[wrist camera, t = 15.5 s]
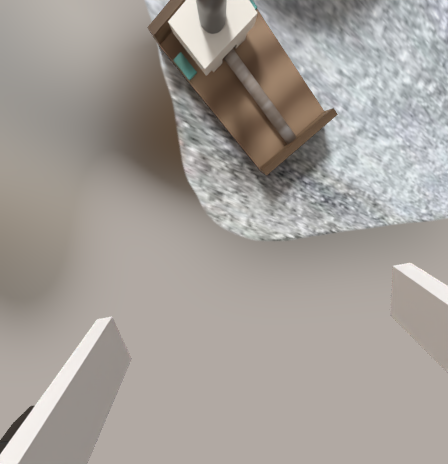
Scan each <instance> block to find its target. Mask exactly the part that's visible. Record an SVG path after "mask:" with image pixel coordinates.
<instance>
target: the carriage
mask: <svg viewBox="0 0 448 464" xmlns="http://www.w3.org/2000/svg"><path fill="white" fill-rule="evenodd" d="M256 17H257V11H256V10H255V8H254V7H253V5H252V4H251V2H250V1H249V0H186V1H185V2H184V3H183V4H182V6H181V7H180V8H179V9H178V10H177V11H176V13H175V14H174V15H173V16H172V17H171V19H170V20H169V21H168V23H169V25H170V27H171V30H172V32H173V34H174V35H175V36H176V38H177V39H178V40H179V42H180V43H181V44H182V45H183V47H184V48H185V49H186V51H187V52H188V53H189V54H190V56H191V57H192V58H193V60H194V61H195V62H196V63H197V65H198V66H199V67H200V69H201V70H202V71H203V72H204V74H205V75H206V76H207V75H208V74H209V73H210V72H211V71H213V72H215V70H216V69H217V68H218V67H219V66H220V65H221V64H222V59H223V58H224V57H225V56H226V55H227V54H228V53H229V52H230V51H231V50H232V49H233V47H235V48H237V47H238V46H239V45H240V44H241V43H242V42H243V41H244V40H245V38H246V34H247V33H248V32H249V31H250V30H251V28H252V27H253V26H254V24H255V21H256Z"/></svg>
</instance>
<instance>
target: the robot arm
mask: <svg viewBox="0 0 448 464" xmlns="http://www.w3.org/2000/svg"><path fill="white" fill-rule="evenodd" d="M391 316H392V317H393V318H394V319H395V321H396V322H397V323H398V324H399V325H400V326H401V327H402V328H404V329H405V331H407V333H408V334H409V335H410V336H411V337H412V338H413V339H414V340H415V341H416V342H417V343H418V344H419V345H420V346H421V347H422V348H424V350H425V351H426V352H427V353H428V354H429V355H430V356H431V357H432V358H433V359H434V360H435V361H436V362H437V363H438V364H439V365H440V366H441V367H442V368H443V369H444V370H445V371H446V372H447V373H448V286H447V285H445V284H444V283H442V282H441V281H439V280H437V279H436V278H434V277H433V276H431V275H429V274H428V273H426V272H425V271H423V270H421V269H420V268H418V267H417V266H415V265H413V264H412V263H406V264H401V265H395V266H393V271H392V293H391ZM130 361H131V356H130V354H129V353H128V350H127V348H126V346H125V343H124V341H123V339H122V337H121V335H120V332H119V330H118V328H117V326H116V324H115V322H114V319H113V318H112V317H108V318H102V319H97V320H96V322H95V323H94V325H93V326H92V327H91V329H90V330H89V331H88V333H87V334H86V336H85V337H84V339H83V340H82V341H81V342H80V344H79V345H78V347H77V348H76V350H75V351H74V352H73V354H72V355H71V357H70V358H69V359H68V361H67V362H66V363H65V365H64V366H63V368H62V369H61V370H60V372H59V373H58V375H57V376H56V377H55V379H54V380H53V382H52V383H51V384H50V386H49V387H48V389H47V390H46V391H45V393H44V394H43V396H42V397H41V398H40V400H39V401H38V402H37V404H36V405H35V406H31V407H29V408H28V409H27V410H26V411H25V412H24V413H23V414H22V415H21V416H20V417H19V418H18V419H17V420H16V421H15V422H14V423H13V424H12V425H11V427H10V428H9V429H8V431H7V432H6V433H5V435H4V436H3V438H2V439H1V440H0V464H87V463H88V461H89V458H90V456H91V454H92V451H93V449H94V447H95V444H96V442H97V440H98V437H99V435H100V432H101V430H102V428H103V425H104V423H105V421H106V418H107V416H108V414H109V411H110V409H111V406H112V404H113V402H114V399H115V397H116V395H117V392H118V390H119V387H120V385H121V383H122V380H123V378H124V376H125V373H126V371H127V368H128V366H129V364H130Z"/></svg>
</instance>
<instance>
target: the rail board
mask: <svg viewBox="0 0 448 464" xmlns="http://www.w3.org/2000/svg"><path fill="white" fill-rule="evenodd" d="M185 1H186V0H170V1H169V2H168V3H167V5H166V6H165V7H164V8H163V9H162V11H161V12H160V13H159V14H158V15H157V17H156V18H155V19H154V20H153V21H152V23H151V24H150V25H149V26H148V29H149V31H150V32H151V34H152V35H153V37H154V39H155V40H156V42H157V43H158V45H159V46H160V47H161V49H162V50H163V51H164V52H165V54H166V55H167V56H168V57H169V59H170V60H171V61H172V62H173V63H174V65H175V66H176V67H177V68H178V70H179V71H180V72H181V73H182V75H183V76H184V77H185V78H186V80H187V81H188V82H189V83H190V84H191V86H192V87H193V88H194V89H195V91H196V92H197V93H198V94H199V96H200V97H201V98H202V99H203V101H204V102H205V103H206V104H207V106H208V107H209V108H210V109H211V110H212V112H213V113H214V114H215V115H216V117H217V118H218V119H219V120H220V122H221V123H222V124H223V125H224V127H225V128H226V129H227V130H228V131H229V133H230V134H231V135H232V136H233V138H234V139H235V140H236V141H237V143H238V144H239V145H240V146H241V148H242V149H243V150H244V151H245V153H246V154H247V155H248V156H249V157H250V159H251V160H252V161H253V162H254V164H255V165H256V166H257V167H258V169H259V170H260V171H261V172H262V173H264V174H265V175H268V174H269V173H270V172H271V171H272V170H274V169H275V168H276V167H277V166H278V165H279V164H281V163H282V162H283V161H284V160H285V159H286V158H288V157H289V156H290V155H291V154H292V153H293V152H294V151H296V150H297V149H298V148H299V147H300V146H301V145H303V144H304V143H305V142H306V141H307V140H308V139H310V138H311V137H312V136H313V135H314V134H315V133H317V132H318V131H319V130H320V129H321V128H322V127H324V126H325V125H326V124H327V123H328V122H329V121H331V120H332V119H333V118H334V117H335V116H336V115H338V114H337V113H336V111H335V110H334V108H333V109H330V110H327V111H324V110H323V109H322V107H321V106H320V104H319V102H318V101H317V99H316V98H315V96H314V95H313V93H312V92H311V90H310V89H309V87H308V86H307V84H306V83H305V81H304V80H303V78H302V77H301V75H300V74H299V72H298V71H297V69H296V68H295V66H294V64H293V63H292V61H291V60H290V58H289V57H288V55H287V54H286V52H285V51H284V49H283V48H282V46H281V45H280V43H279V42H278V40H277V39H276V37H275V36H274V34H273V33H272V31H271V30H270V28H269V26H268V25H267V23H266V22H265V20H264V19H263V17H262V16H261V14H260V13H259V11H258V10H257V6H256V5H255V3H254V2H253V0H249V1H250V2H251V4H252V5H253V7H254V8H255V10H256V11H257V17H256V21H255V24H254V26H253V27H252V28H251V30H250V31H249V32H248V33H247V34H246V38H245V40H244V41H243V42H242V43H241V44H240V45H239V46H238V47H237V48H235V47H233V49H232V50H231V51H230V52H229V53H228V54H227V55H226V56H225V57H224V58H223V59H222V64H221V65H220V66H219V67H218V68H217V69H216V70H215V72H213V71H211V72H210V73H209V74H208V75H207V76H206V75H205V74H204V72H203V71H202V70H201V69H200V67H199V66H198V65H197V63H196V62H195V61H194V60H193V58H192V57H191V56H190V54H189V53H188V52H187V51H186V49H185V48H184V47H183V45H182V44H181V43H180V42H179V40H178V39H177V38H176V36H175V35H174V34H173V32H172V30H171V27H170V25H169V23H168V21H169V20H170V19H171V17H172V16H173V15H174V14H175V13H176V11H177V10H178V9H179V8H180V7H181V6H182V4H183V3H184V2H185Z"/></svg>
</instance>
